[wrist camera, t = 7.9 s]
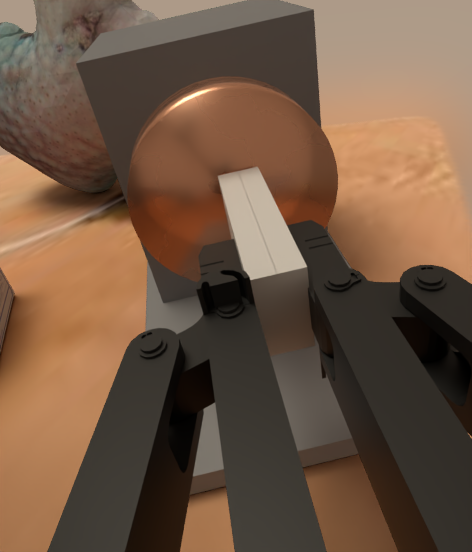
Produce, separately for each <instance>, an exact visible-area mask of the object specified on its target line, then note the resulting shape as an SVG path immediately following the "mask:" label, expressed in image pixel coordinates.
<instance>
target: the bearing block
mask: <svg viewBox="0 0 472 552" xmlns="http://www.w3.org/2000/svg"><path fill="white" fill-rule="evenodd" d="M76 65H77V68H78V71H79V74H80V76H81V79H82V82H83V85H84V87H85V90H86V93H87V96H88V98H89V101H90V104H91V107H92V109H93V112H94V115H95V118H96V120H97V123H98V126H99V129H100V131H101V134H102V137H103V140H104V142H105V145H106V148H107V151H108V153H109V156H110V159H111V162H112V164H113V167H114V170H115V173H116V175H117V178H118V181H119V184H120V186H121V189H122V192H123V195H124V197H125V200H126V203H127V206H128V201H127V185H128V178H129V170H130V163H131V157H132V151H133V148H134V145H135V142H136V139H137V137H138V135H139V133H140V130H141V128H142V127H143V125H144V124H145V122H146V121H147V119H148V117H149V116H150V115H151V114H152V113H153V111H154V110H155V109H156V108H157V107H158V106H159V105H160V104H161V103H162V102H163V101H165V100H166V99H167V98H168V97H169V96H171V95H172V94H174V93H175V92H177V91H179V90H180V89H182V88H184V87H186V86H188V85H190V84H193V83H195V82H198V81H202V80H205V79H209V78H215V77H221V76H239V77H246V78H252V79H255V80H259V81H263V82H265V83H267V84H270V85H272V86H274V87H276V88H278V89H279V90H281V91H283V92H284V93H286V94H287V95H288V96H290V97H291V98H292V99H293V100H294V101H295V102H296V103H297V104H299V105H300V106H301V107H302V108H303V109H304V110H305V111H306V112H307V113H308V114H309V115H310V116H311V117H312V118H313V119H314V120H315V122H316V123H317V124H318V125H319V126H320V128H321V120H320V103H319V88H318V71H317V55H316V40H315V23H314V10H313V9H310V8H306V7H302V6H299V5H295V4H291V3H288V2H284V1H280V0H247V1H242V2H238V3H233V4H229V5H225V6H220V7H216V8H211V9H207V10H202V11H198V12H193V13H189V14H185V15H180V16H176V17H171V18H167V19H162V20H158V21H153V22H149V23H145V24H140V25H136V26H131V27H127V28H122V29H118V30H114V31H109V32H105V33H101V34H100V35H99V36H98V37H97V39H96V40H95V41H94V42H93V43H92V45H91V46H90V47H89V48H88V49H87V51H86V52H85V53H84V54H83V55H82V57H81V58H80V59H79V60H78V61H77V62H76ZM325 231H326V232H327V234H328V236H329V237H330V238H331V240H332V242H333V244H334V245H335V246H336V248H337V250H338V251H339V253H340V254H341V256H342V258H343V259H344V261H345V262H346V264H347V265H348V267H349V268H351V267H350V265H349V264H348V262H347V260H346V259H345V257H344V256H343V254H342V253H341V251H340V250H339V248H338V247H337V245H336V243H335V242H334V240H333V239H332V237H331V236H330V234H329V233H328V229H327V226H326V228H325ZM140 241H141V240H140ZM141 244H142V242H141ZM142 247H143V249H144V252H145V255H146V258H147V260H148V267H147V301H146V331H148V330H151V329H156V328H167V329H170V330H172V331H174V332H175V333H176V334H178V333H180V332H182V331H184V330H186V329H188V328H190V327H191V326H193V325H194V324H195V323H196V322H198V321H199V319H200V318H201V317H202V315H203V311H202V308H201V305H200V301H199V298H198V294H197V291H196V287H197V283H198V282H195V281H192V280H189V279H187V278H184V277H182V276H180V275H178V274H176V273H174V272H172V271H170V270H169V269H168V268H166V267H165V266H163V265H162V264H161V263H160V262H158V261H157V260H156V259H155V258H154V257H153V256H152V255H151V254H150V253H149V251H148V250H147V249H146V248H145V247H144V245H143V244H142ZM351 269H352V268H351ZM314 339H315V346H311V347H307V348H303V349H299V350H294V351H290V352H286V353H282V354H277V355H273V356H270V357H271V361H272V364H273V368H274V371H275V374H276V378H277V381H278V385H279V388H280V392H281V395H282V399H283V402H284V406H285V409H286V413H287V416H288V419H289V423H290V426H291V430H292V433H293V437H294V440H295V444H296V447H297V451H298V454H299V458H300V461H301V464H302V467H307V466H311V465H315V464H319V463H323V462H327V461H331V460H335V459H340V458H344V457H348V456H352V455H356V454H359V453H358V451H357V448H356V446H355V443H354V441H353V438H352V436H351V434H350V431H349V429H348V426H347V424H346V421H345V419H344V416H343V414H342V411H341V409H340V406H339V404H338V402H337V399H336V397H335V394H334V392H333V389H332V387H331V384H330V382H329V379H328V377H327V375H326V378H323V379H322V373H321V362H320V351H319V344H318V342H317V340H316V337H315V335H314ZM224 486H226V481H225V473H224V466H223V458H222V451H221V443H220V435H219V428H218V420H217V413H216V405H215V403H213V404H212V405H210V406H208V407H206V408H204V415H203V421H202V427H201V432H200V438H199V444H198V450H197V455H196V461H195V467H194V473H193V478H192V484H191V490H190V495H191V494H195V493H199V492H204V491H208V490H212V489H216V488H220V487H224Z"/></svg>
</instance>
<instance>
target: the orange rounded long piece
mask: <svg viewBox="0 0 472 552" xmlns="http://www.w3.org/2000/svg"><path fill="white" fill-rule="evenodd" d="M254 167H258V168H259V170H260V172H261V174H262V176H263V178H264V180H265V182H266V184H267V186H268V188H269V190H270V192H271V195H272V197H273V199H274V201H275V203H276V205H277V207H278V209H279V211H280V213H281V215H282V217H283V219H284V221H285V223H286V225H291V224H295V223H299V222H304V221H308V220H313V221H315V222H316V223H318V224H320V225H322V226H323V227H324V229H325V228H326V226H327V224H328V222H329V219H330V217H331V215H332V212H333V209H334V205H335V202H336V196H337V190H338V174H337V165H336V161H335V157H334V153H333V150H332V148H331V145H330V143H329V141H328V139H327V137H326V135H325V134H324V132H323V131H322V129H321V128H320V126H319V125H318V124H317V123H316V122H315V120H314V119H313V118H312V117H311V116H310V115H309V114H308V113H307V112H306V111H305V110H304V109H303V108H302V107H301V106H300V105H299V104H297V103H296V102H295V101H294V100H293V99H292V98H291V97H290V96H288V95H287V94H286V93H284V92H283V91H281V90H279V89H278V88H276V87H274V86H272V85H270V84H267V83H265V82H263V81H259V80H255V79H252V78H246V77H239V76H221V77H215V78H209V79H205V80H202V81H198V82H195V83H193V84H190V85H188V86H186V87H184V88H182V89H180V90H179V91H177V92H175V93H174V94H172V95H171V96H169V97H168V98H167V99H166V100H165V101H163V102H162V103H161V104H160V105H159V106H158V107H157V108H156V109H155V110H154V111H153V113H152V114H151V115H150V116H149V117H148V119H147V121H146V122H145V124H144V125H143V127H142V128H141V130H140V133H139V135H138V137H137V139H136V142H135V145H134V148H133V151H132V157H131V163H130V170H129V178H128V185H127V201H128V208H129V214H130V217H131V221H132V224H133V227H134V229H135V231H136V233H137V235H138V237H139V239H140V240H141V242H142V244H143V245H144V247H145V248H146V249H147V250H148V251H149V253H150V254H151V255H152V256H153V257H154V258H155V259H156V260H157V261H158V262H160V263H161V264H162V265H163V266H165V267H166V268H168V269H169V270H170V271H172V272H174V273H176V274H178V275H180V276H182V277H184V278H187V279H189V280H192V281H195V282H198V281H199V280H200V279H201V273H200V265H199V258H198V256H199V254H200V252H201V250H202V248H203V246H205V245H209V244H213V243H218V242H222V241H226V240H231V235H230V230H229V226H228V221H227V216H226V212H225V207H224V203H223V198H222V193H221V189H220V184H219V180H218V176H219V175H223V174H227V173H232V172H236V171H241V170H245V169H249V168H254Z"/></svg>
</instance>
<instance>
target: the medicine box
mask: <svg viewBox="0 0 472 552" xmlns="http://www.w3.org/2000/svg"><path fill="white" fill-rule="evenodd" d="M14 294H15V293H14V291H13V289H12V287H11V285H10V284H9V282H8V280H7V278H6V277H5V275H4V273H3V272H2V270H1V268H0V352H1V348H2V344H3V339H4V335H5V331H6V327H7V322H8V318H9V314H10V309H11V305H12V300H13V297H14Z"/></svg>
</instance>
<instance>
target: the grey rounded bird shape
mask: <svg viewBox="0 0 472 552" xmlns="http://www.w3.org/2000/svg"><path fill="white" fill-rule="evenodd" d="M34 4H35V9H36V16H37V25H36V31H35V32H34V33H32V34H31V33H27V32H24V31H23V30H22V29H21V28H19V27H18V26H17V25H15V24H12V23H8V22H4V23H0V146H1V147H2V148H3V149H5V150H6V151H8V152H10V153H11V154H13V155H14V156H16V157H18V158H19V159H21V160H23V161H24V162H26V163H28V164H29V165H31V166H32V167H34V168H36V169H37V170H39V171H40V172H42V173H43V174H45V175H47V176H48V177H50V178H52V179H54V180H55V181H57V182H59V183H61V184H63V185H65V186H68V187H70V188H73V189H76V190H80V191H85V192H92V193H96V192H103V191H105V190H107V189H109V188H111V186H112V185H113V184H114V183H115V181H116V180H117V175H116V173H115V170H114V167H113V164H112V162H111V159H110V156H109V153H108V151H107V148H106V145H105V142H104V140H103V137H102V134H101V131H100V129H99V126H98V123H97V120H96V118H95V115H94V112H93V109H92V107H91V104H90V101H89V98H88V96H87V93H86V90H85V87H84V85H83V82H82V79H81V76H80V74H79V71H78V68H77V65H76V62H77V61H78V60H79V59H80V58H81V57H82V55H83V54H84V53H85V52H86V51H87V49H88V48H89V47H90V46H91V45H92V43H93V42H94V41H95V40H96V39H97V37H98V36H99V35H100V34H101V33H105V32H109V31H114V30H118V29H122V28H127V27H131V26H136V25H140V24H145V23H149V22H153V21H158V20H159V19H158V18H157V17H156V16H155V15H154V14H153V13H151V12H149V11H146V10H142V9H140V8H139V7H138V6H137V5H136V4H135V3H134V2H132V0H34Z"/></svg>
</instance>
